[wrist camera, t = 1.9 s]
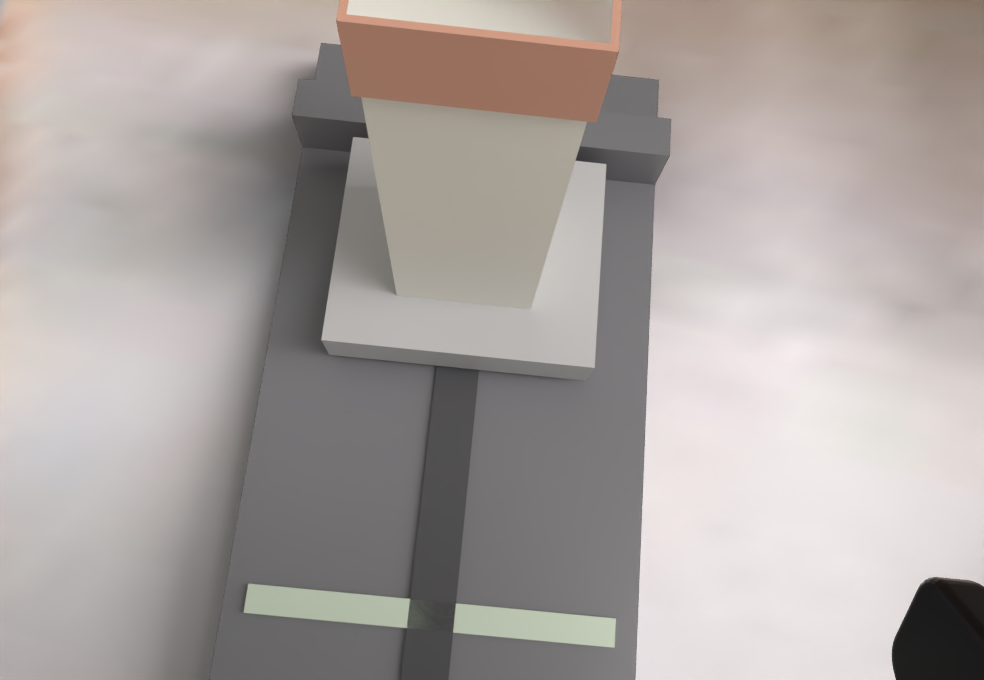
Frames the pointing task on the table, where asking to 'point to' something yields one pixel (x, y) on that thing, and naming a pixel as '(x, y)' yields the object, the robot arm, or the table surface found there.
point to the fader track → (444, 461)
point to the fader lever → (473, 184)
